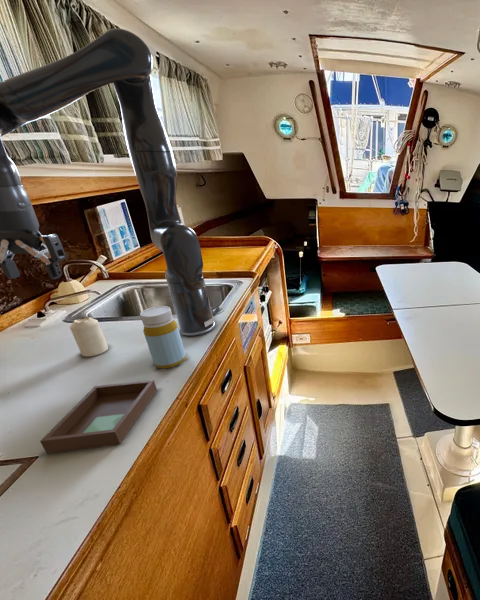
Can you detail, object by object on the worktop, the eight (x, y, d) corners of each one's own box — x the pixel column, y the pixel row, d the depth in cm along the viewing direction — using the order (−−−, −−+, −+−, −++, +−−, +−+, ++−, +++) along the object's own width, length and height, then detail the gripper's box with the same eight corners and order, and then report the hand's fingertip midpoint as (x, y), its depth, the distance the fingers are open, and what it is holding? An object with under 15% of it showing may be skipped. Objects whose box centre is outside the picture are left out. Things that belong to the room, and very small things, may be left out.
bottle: (151, 372, 81) (134, 319, 75) (158, 357, 87) (142, 307, 81) (184, 366, 84) (169, 314, 78) (188, 352, 90) (174, 303, 84)
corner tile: (97, 417, 66) (96, 417, 66) (134, 413, 68) (134, 412, 67) (74, 444, 60) (73, 443, 60) (116, 438, 61) (116, 438, 61)
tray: (99, 396, 73) (94, 385, 71) (157, 390, 75) (154, 380, 74) (46, 453, 59) (39, 441, 57) (120, 444, 61) (114, 431, 60)
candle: (107, 343, 92) (94, 312, 88) (109, 351, 89) (96, 319, 85) (81, 350, 89) (67, 318, 85) (82, 359, 85) (67, 326, 81)
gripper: (59, 206, 74) (81, 273, 80) (-14, 203, 72) (15, 272, 78) (29, 211, 67) (56, 284, 74) (-53, 208, 65) (-17, 282, 71)
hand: (35, 277), depth 76 cm, fingers open, 8 cm apart
